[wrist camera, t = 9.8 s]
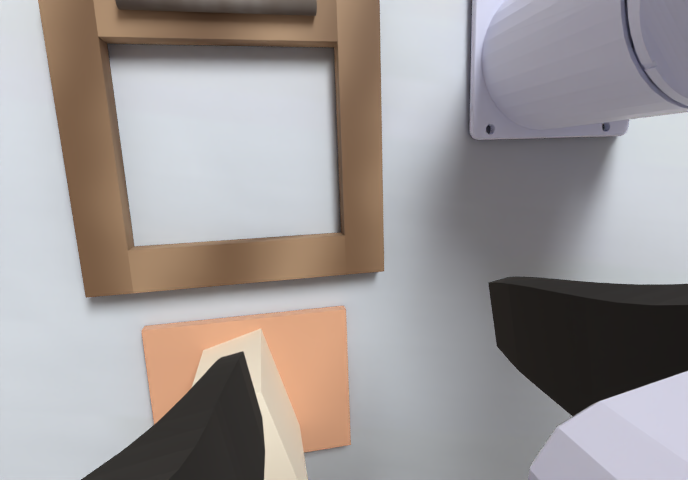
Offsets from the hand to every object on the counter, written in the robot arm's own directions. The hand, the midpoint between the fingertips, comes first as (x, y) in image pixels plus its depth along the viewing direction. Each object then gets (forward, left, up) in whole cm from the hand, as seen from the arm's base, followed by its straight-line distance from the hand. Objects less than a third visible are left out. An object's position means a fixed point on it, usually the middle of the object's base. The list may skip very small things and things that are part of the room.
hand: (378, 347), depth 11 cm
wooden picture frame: (+4, -6, -10) cm, 13 cm away
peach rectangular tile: (+4, +7, -10) cm, 13 cm away
